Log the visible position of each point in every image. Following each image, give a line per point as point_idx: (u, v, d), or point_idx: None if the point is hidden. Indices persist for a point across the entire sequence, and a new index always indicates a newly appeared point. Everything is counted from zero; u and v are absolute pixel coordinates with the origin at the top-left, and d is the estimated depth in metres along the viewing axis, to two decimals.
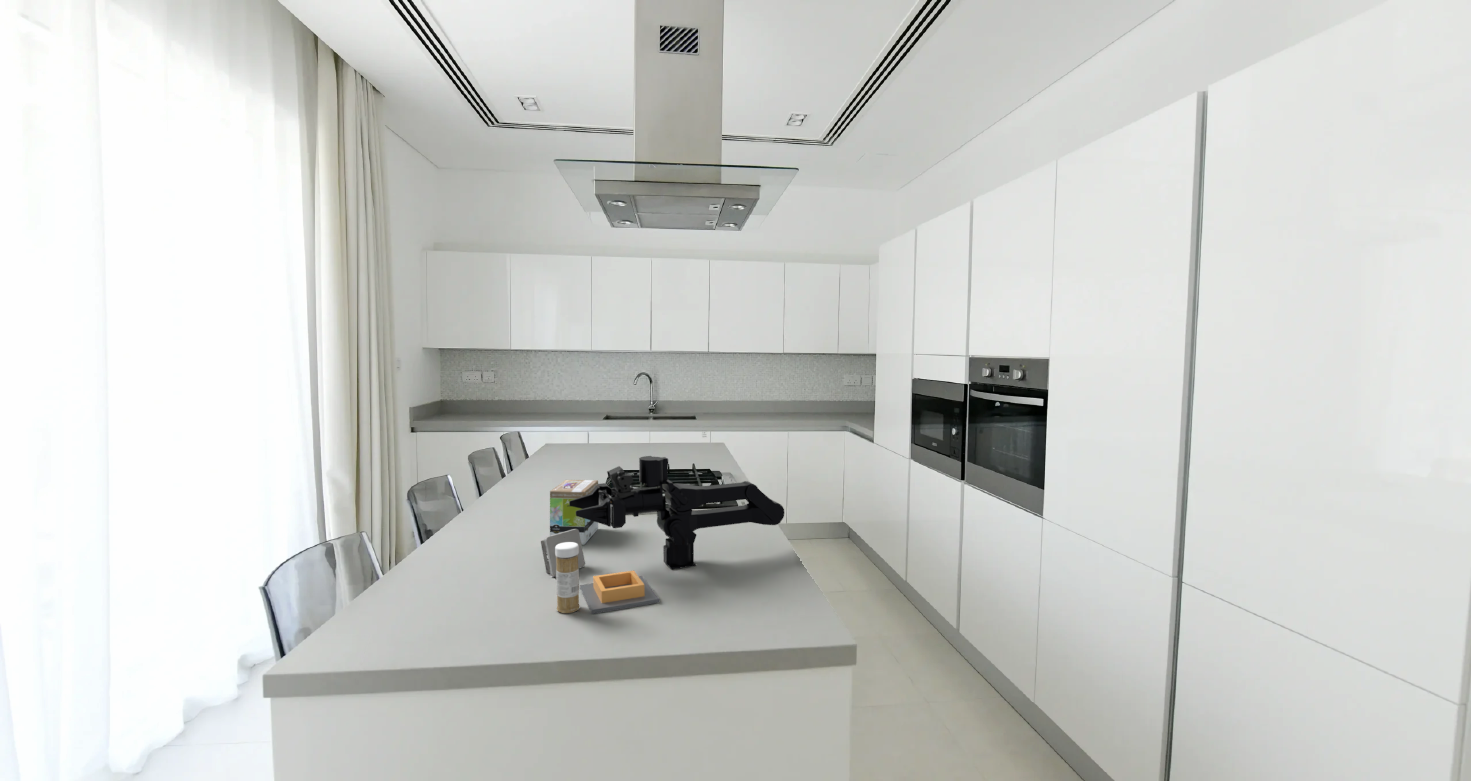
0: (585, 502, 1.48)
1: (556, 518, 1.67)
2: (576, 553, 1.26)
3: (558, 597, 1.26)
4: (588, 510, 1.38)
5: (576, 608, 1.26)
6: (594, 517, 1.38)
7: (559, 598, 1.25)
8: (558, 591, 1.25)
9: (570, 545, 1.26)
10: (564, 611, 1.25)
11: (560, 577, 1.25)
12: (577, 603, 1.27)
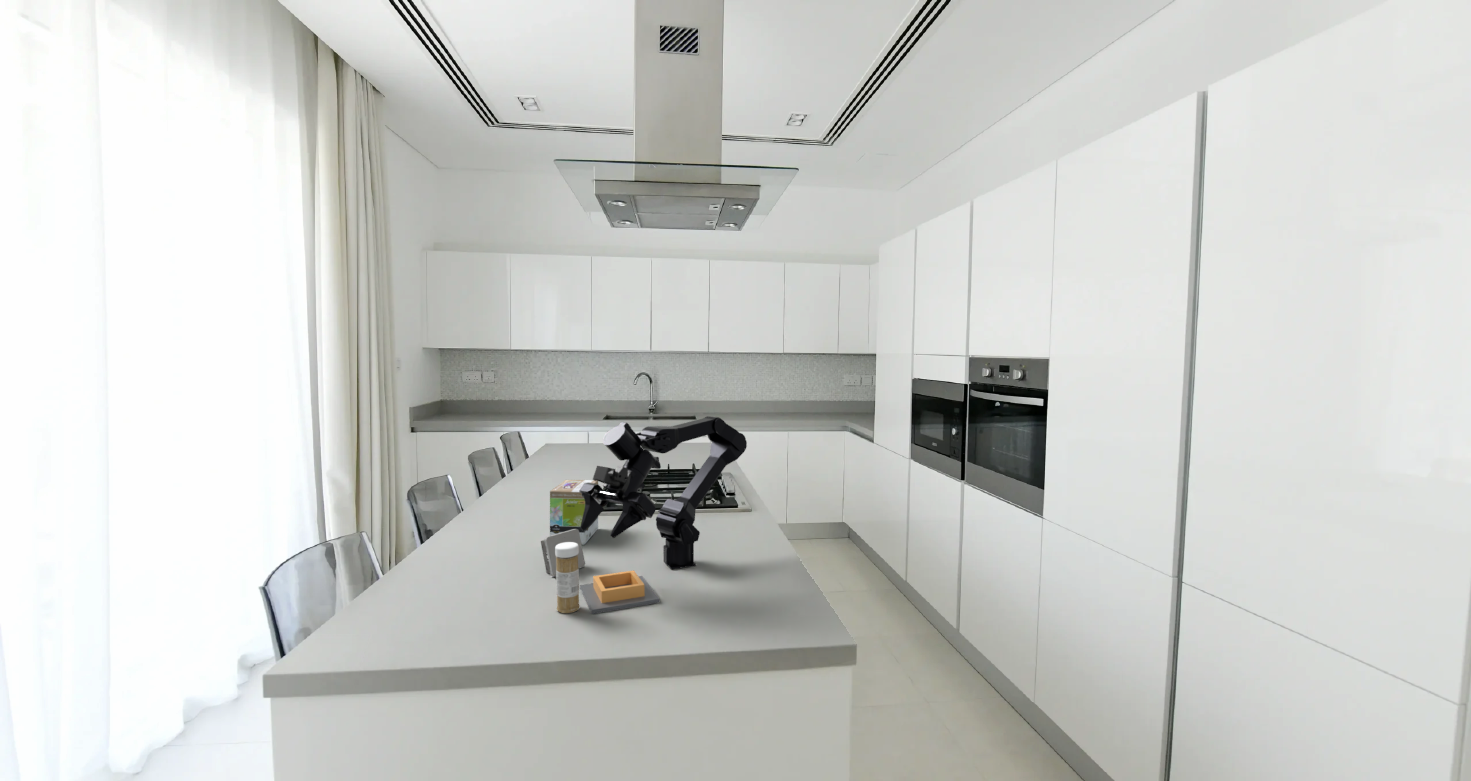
0: (591, 514, 1.38)
1: (556, 518, 1.67)
2: (576, 553, 1.26)
3: (558, 597, 1.26)
4: (620, 525, 1.31)
5: (576, 608, 1.26)
6: (628, 524, 1.32)
7: (559, 598, 1.25)
8: (558, 591, 1.25)
9: (570, 545, 1.26)
10: (564, 611, 1.25)
11: (560, 577, 1.25)
12: (577, 603, 1.27)
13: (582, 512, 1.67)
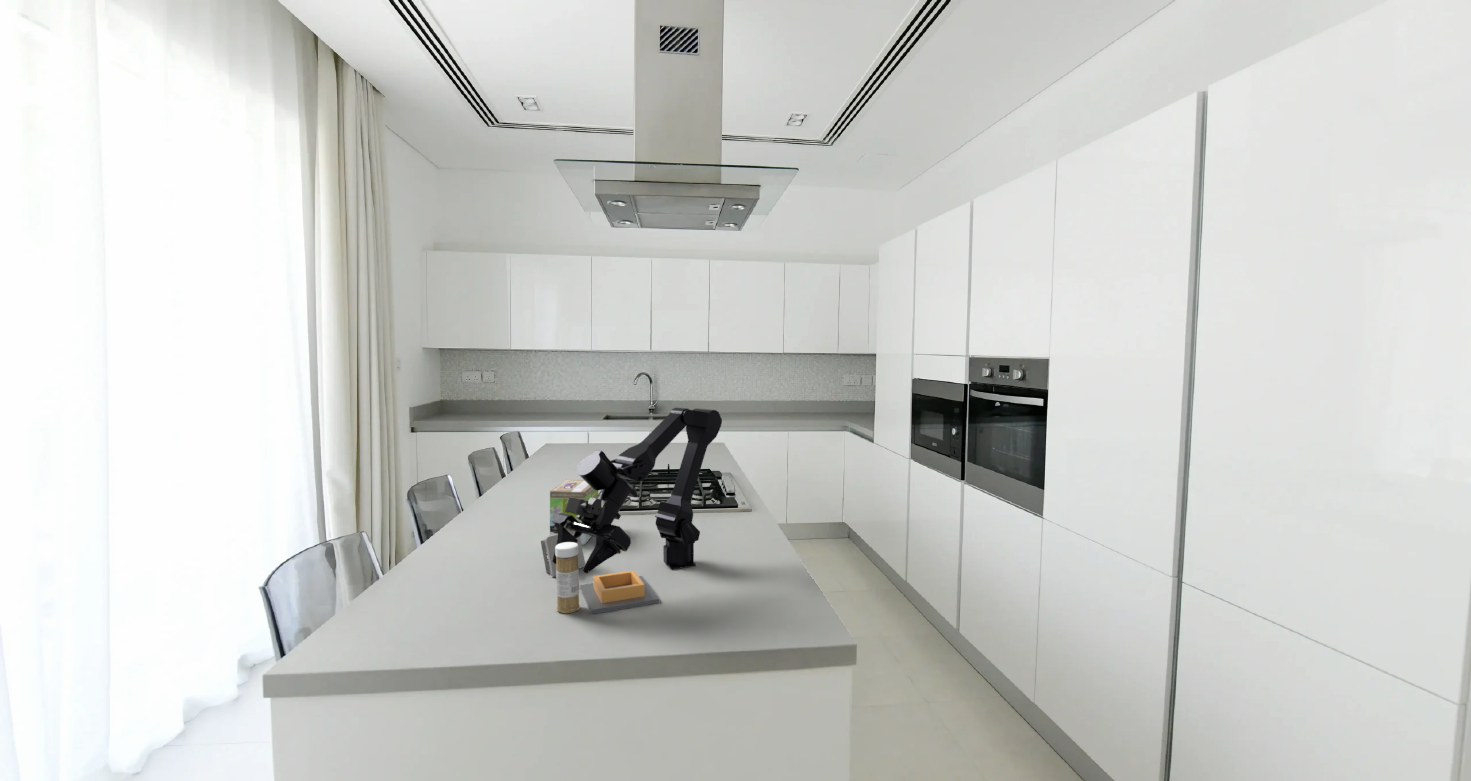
0: None
1: None
2: (576, 553, 1.26)
3: (558, 597, 1.26)
4: (593, 559, 1.25)
5: (576, 608, 1.26)
6: (601, 559, 1.26)
7: (559, 598, 1.25)
8: (558, 591, 1.25)
9: (570, 545, 1.26)
10: (564, 611, 1.25)
11: (560, 577, 1.25)
12: (577, 603, 1.27)
13: None
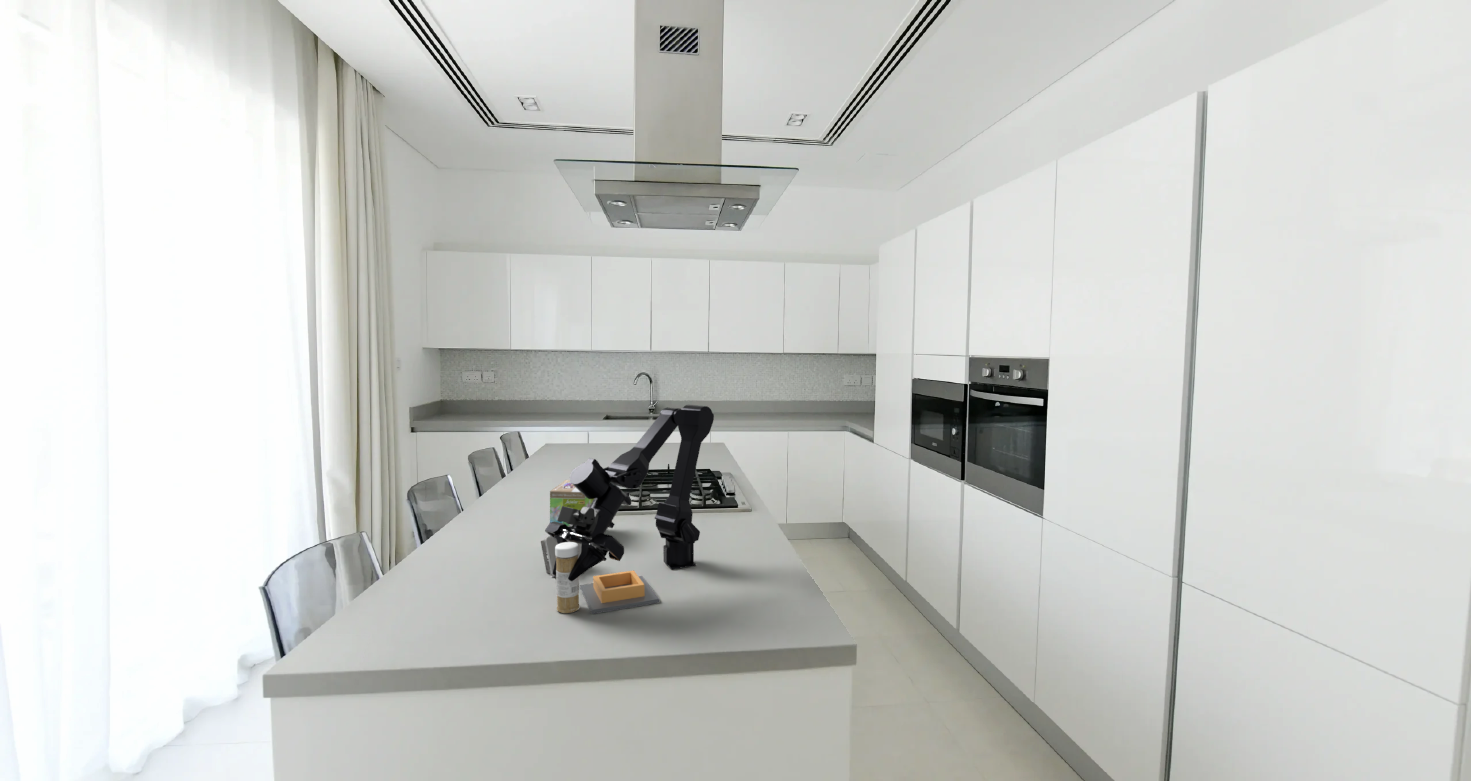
0: None
1: (556, 518, 1.67)
2: (576, 553, 1.26)
3: (558, 597, 1.26)
4: (578, 567, 1.25)
5: (576, 608, 1.26)
6: (587, 566, 1.26)
7: (559, 598, 1.25)
8: (558, 591, 1.25)
9: (570, 545, 1.26)
10: (564, 611, 1.25)
11: (560, 576, 1.25)
12: (577, 603, 1.27)
13: None
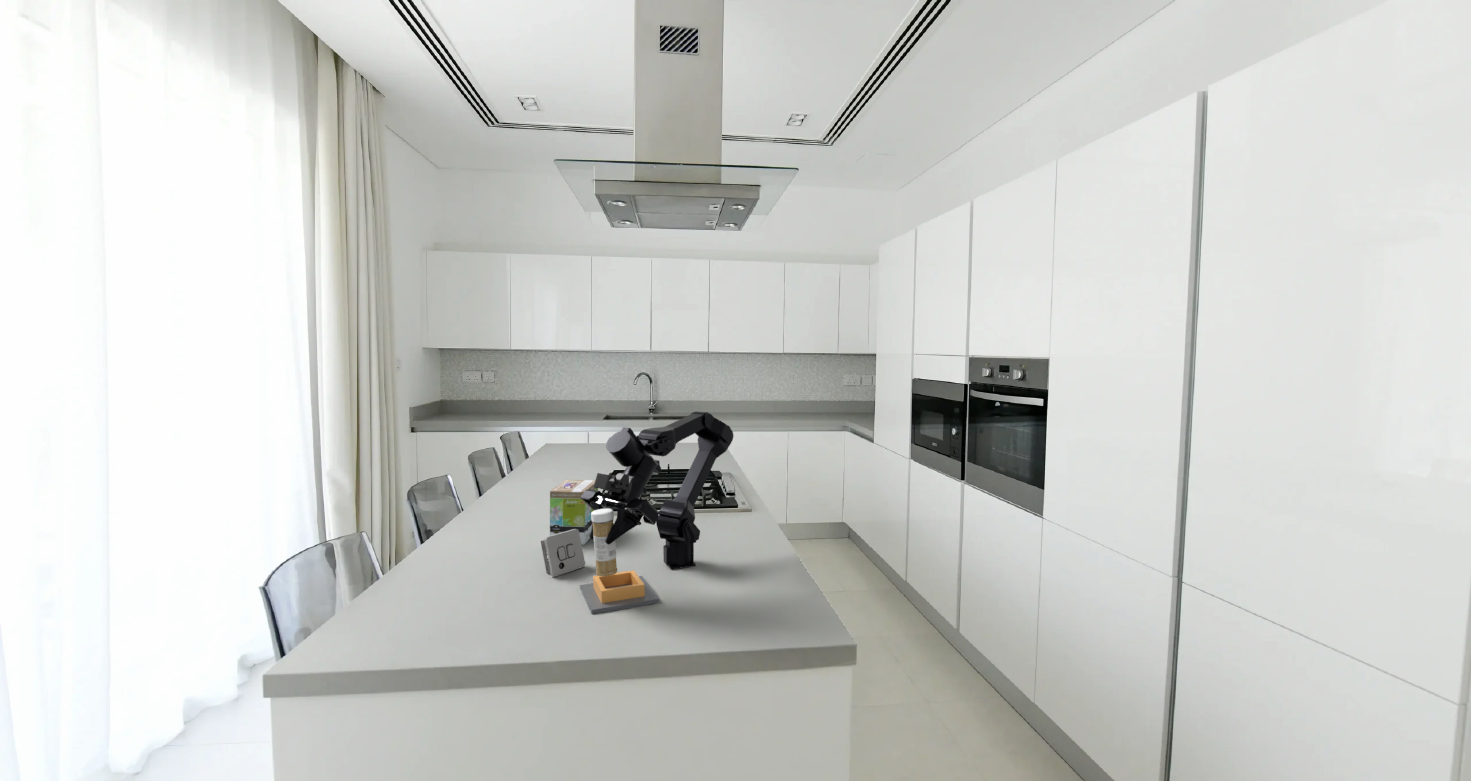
0: None
1: (556, 518, 1.67)
2: (611, 518, 1.31)
3: (597, 561, 1.31)
4: (615, 531, 1.30)
5: (614, 571, 1.31)
6: (623, 530, 1.31)
7: (598, 562, 1.30)
8: (596, 555, 1.30)
9: (605, 510, 1.31)
10: (603, 574, 1.30)
11: (598, 541, 1.30)
12: (615, 566, 1.32)
13: (582, 512, 1.67)
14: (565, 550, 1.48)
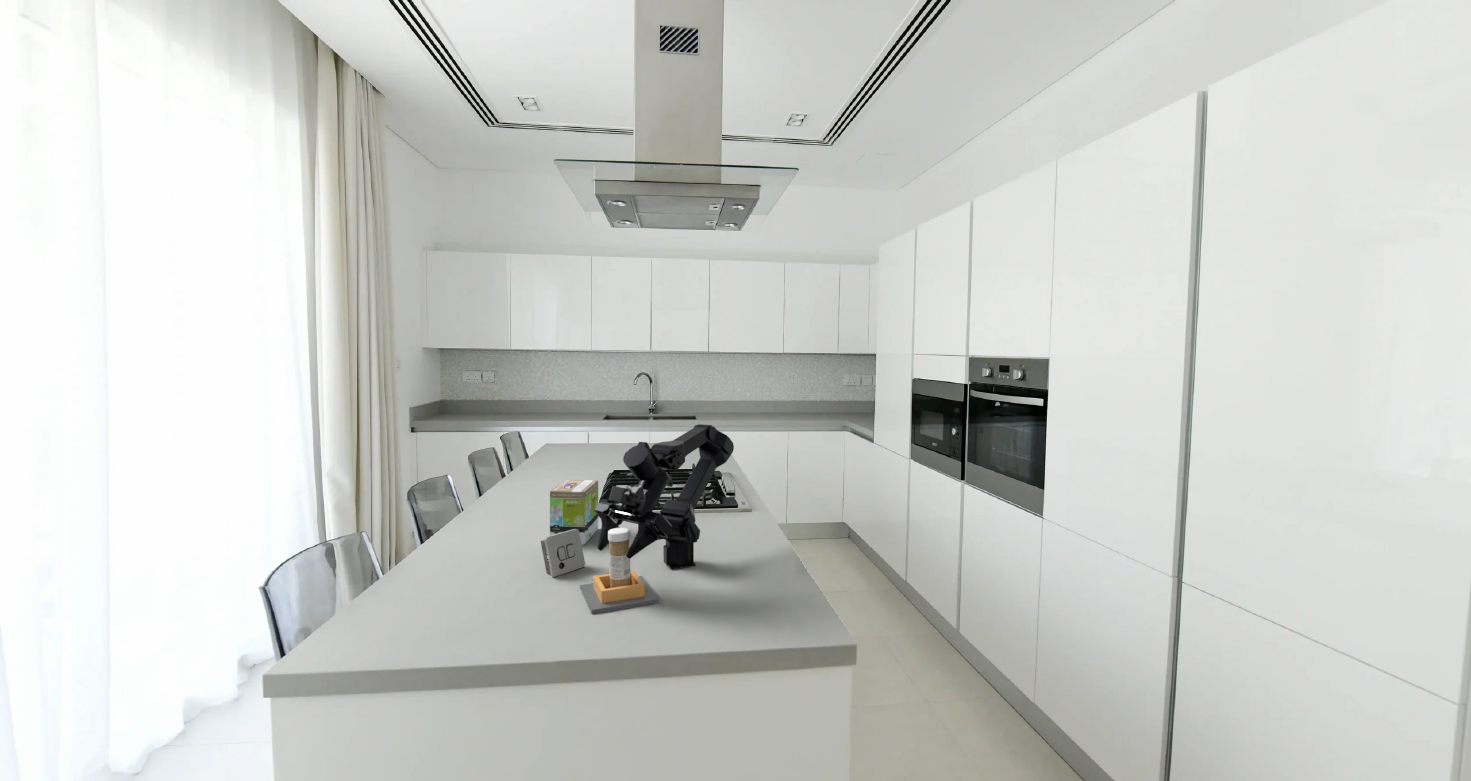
0: None
1: (556, 518, 1.67)
2: (628, 537, 1.33)
3: (611, 580, 1.33)
4: (635, 545, 1.31)
5: None
6: (643, 544, 1.32)
7: (612, 580, 1.32)
8: (611, 574, 1.33)
9: (622, 530, 1.33)
10: None
11: (613, 560, 1.32)
12: None
13: (582, 512, 1.67)
14: (565, 550, 1.48)
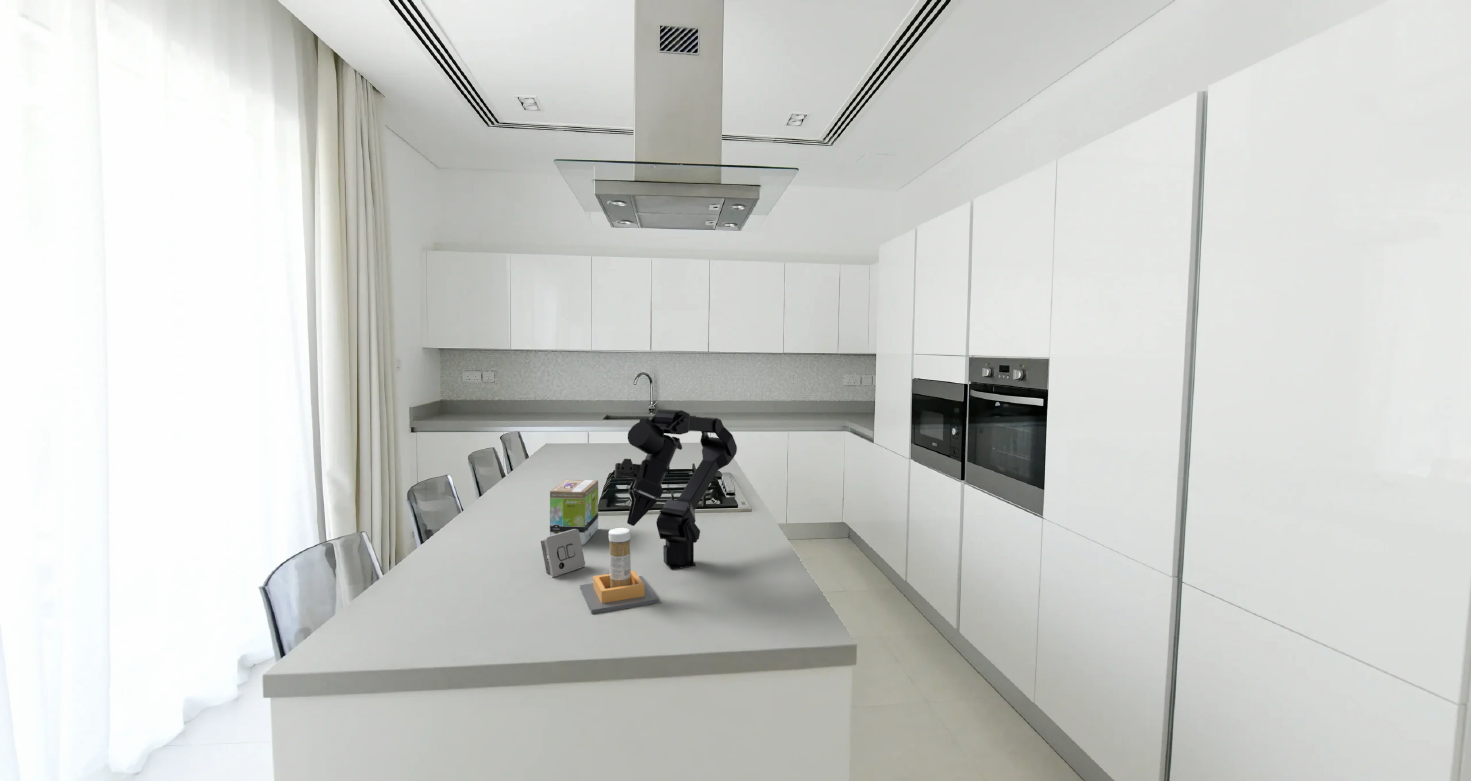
0: None
1: (556, 518, 1.67)
2: (628, 538, 1.33)
3: (611, 580, 1.33)
4: (634, 512, 1.36)
5: None
6: (643, 510, 1.36)
7: (613, 580, 1.32)
8: (612, 574, 1.32)
9: (622, 530, 1.33)
10: None
11: (614, 560, 1.32)
12: None
13: (582, 512, 1.67)
14: (565, 550, 1.48)
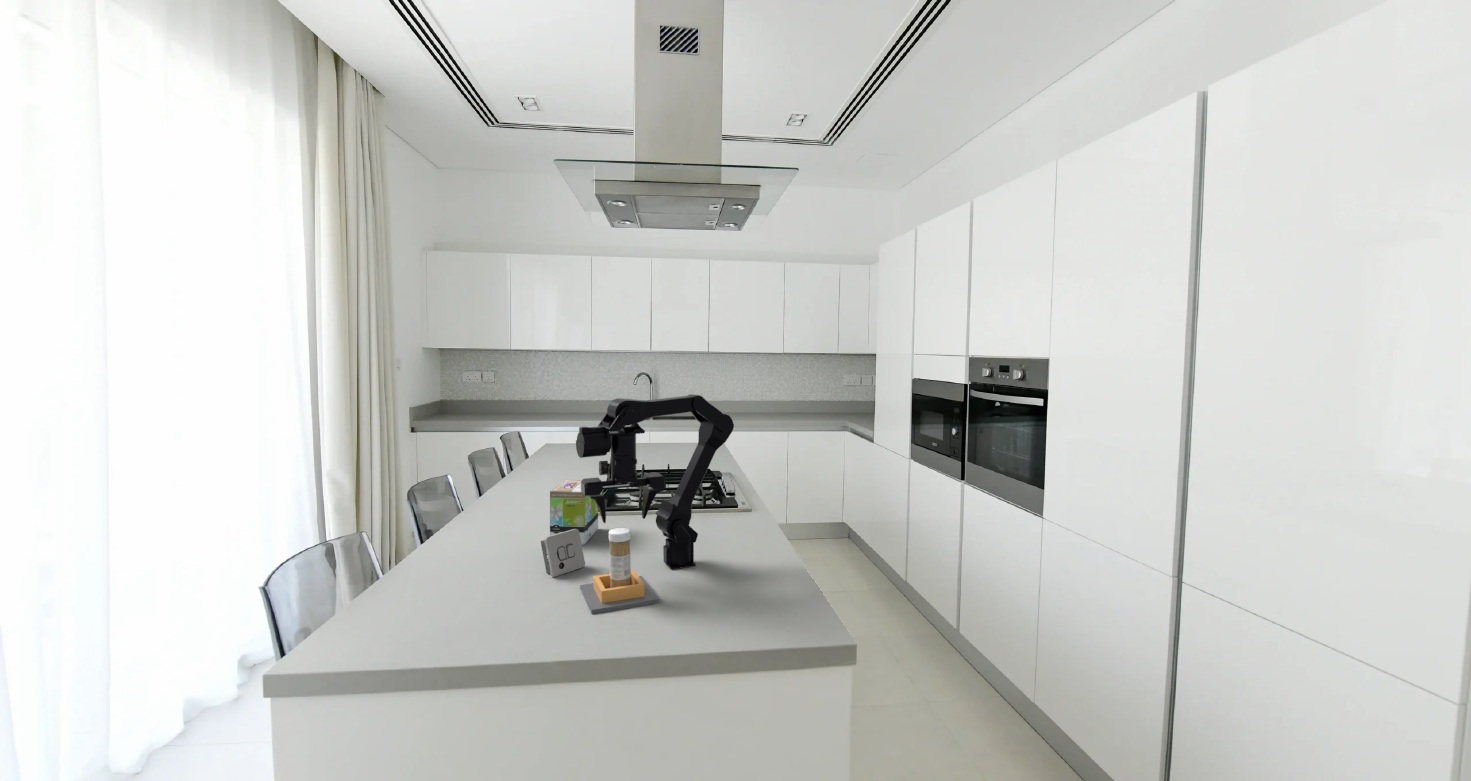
0: (644, 502, 1.47)
1: (556, 518, 1.67)
2: (628, 538, 1.33)
3: (611, 580, 1.33)
4: (600, 510, 1.43)
5: None
6: (599, 507, 1.42)
7: (613, 580, 1.32)
8: (612, 574, 1.32)
9: (622, 530, 1.33)
10: None
11: (614, 560, 1.32)
12: None
13: (582, 512, 1.67)
14: (565, 550, 1.48)
